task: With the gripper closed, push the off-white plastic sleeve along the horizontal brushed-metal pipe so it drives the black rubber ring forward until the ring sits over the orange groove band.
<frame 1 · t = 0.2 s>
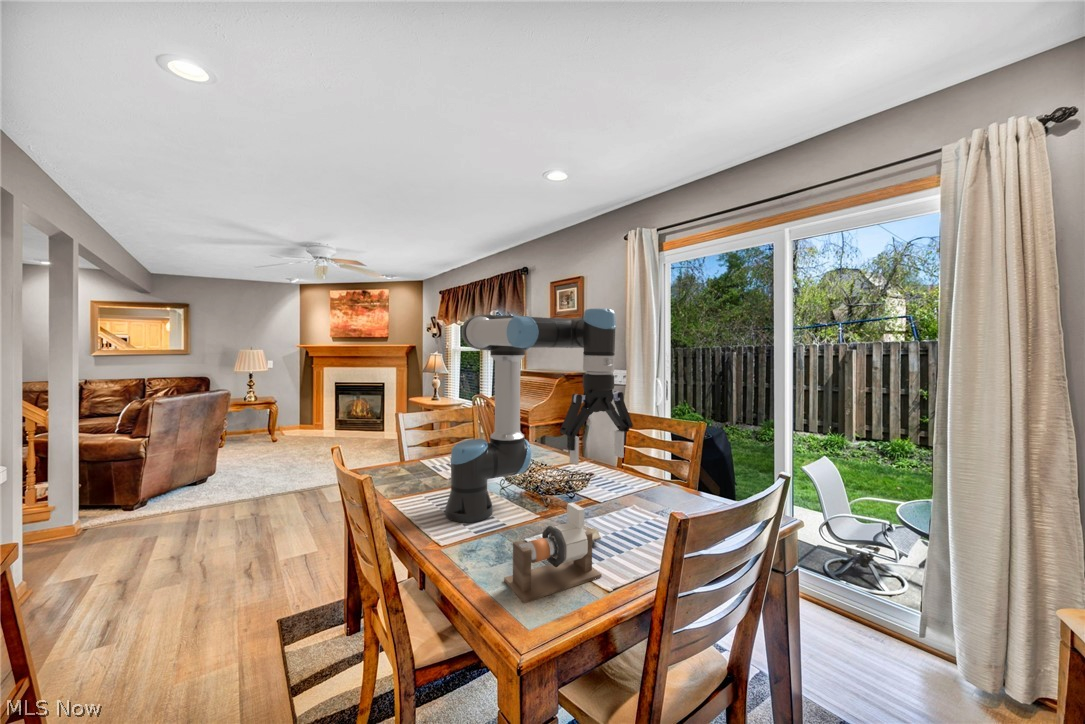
hand: (597, 460, 107), 28 cm above the table, fingers open, 13 cm apart
pipe: (553, 546, 104), point 8 cm above the table
ring: (552, 546, 104), point 8 cm above the table, slide at 0.0 cm
sleeve: (567, 533, 106), point 10 cm above the table, slide at 0.0 cm
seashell: (579, 542, 124), on the table
stand: (553, 578, 104), on the table
groove band: (538, 550, 102), point 8 cm above the table
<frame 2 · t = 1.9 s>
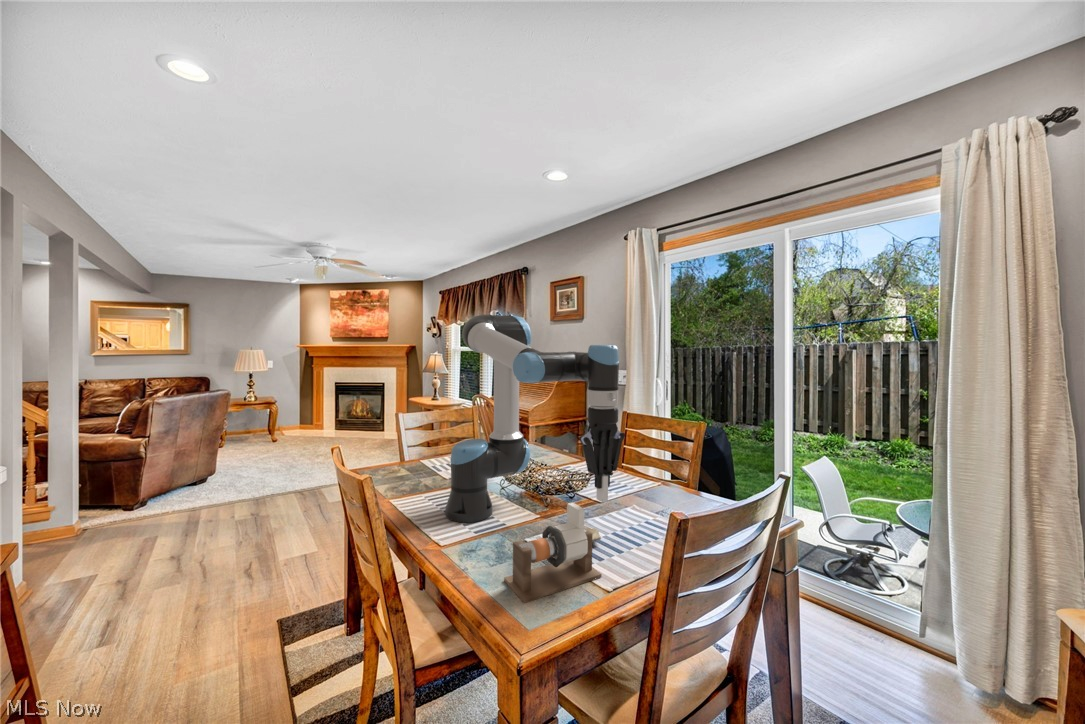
hand: (602, 500, 110), 17 cm above the table, fingers closed
nothing on the table moved.
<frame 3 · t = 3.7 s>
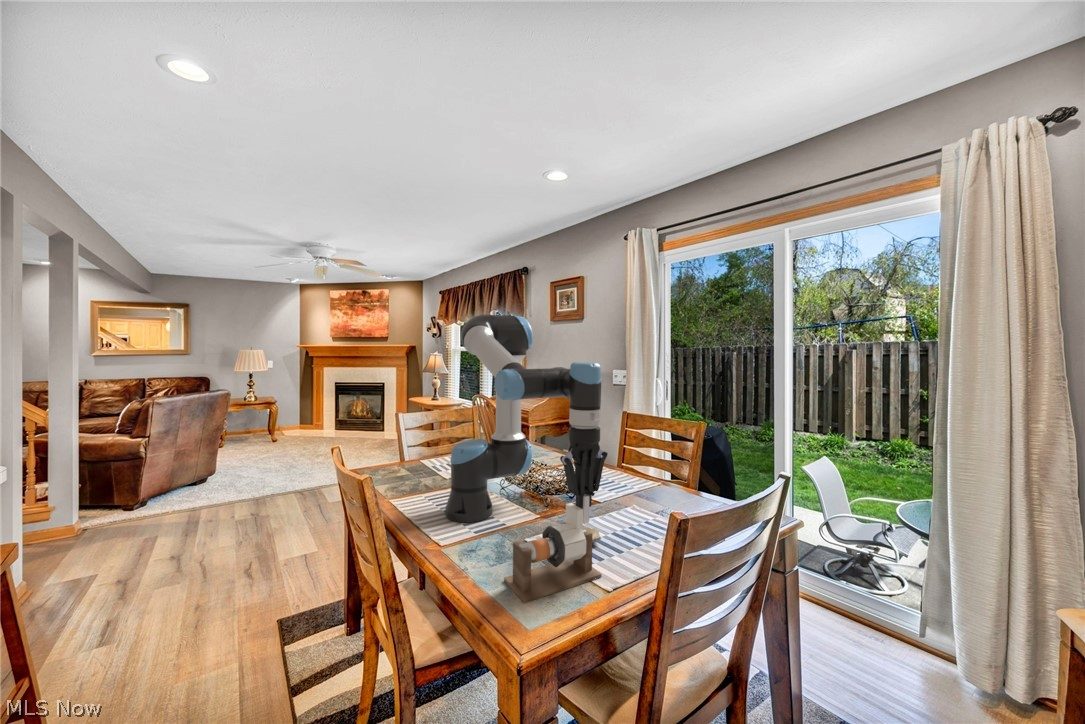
hand: (583, 520, 108), 12 cm above the table, fingers closed
sleeve: (566, 533, 106), point 10 cm above the table, slide at 0.4 cm, touching gripper
everything else where it was.
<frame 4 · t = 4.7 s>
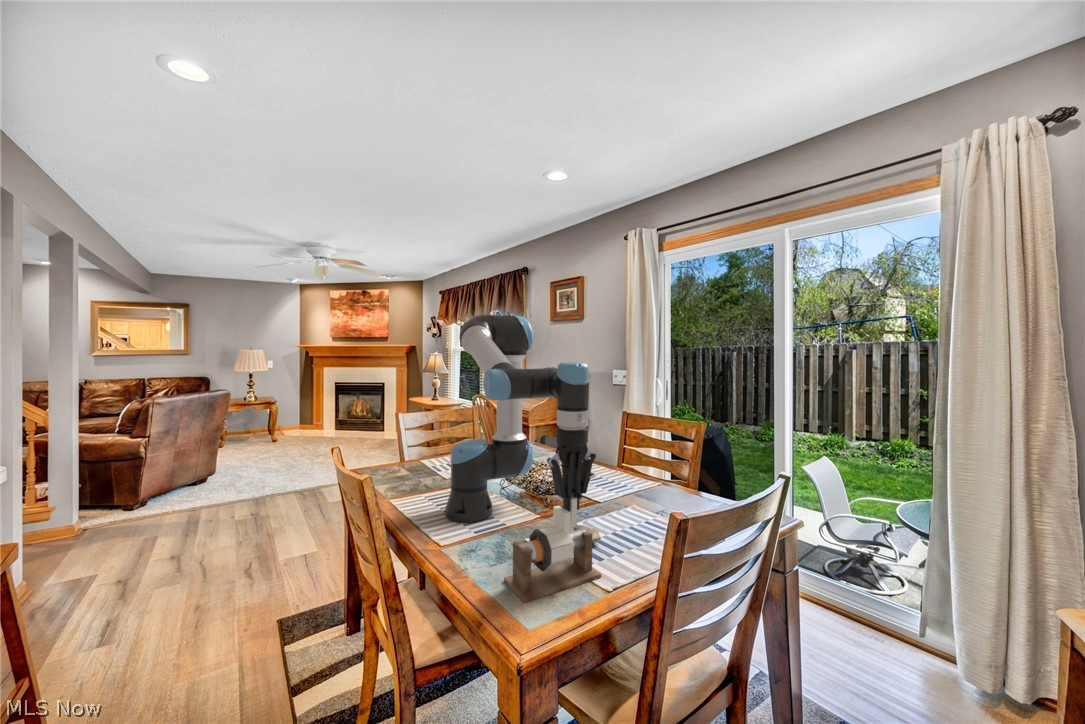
hand: (571, 523, 106), 12 cm above the table, fingers closed
ring: (539, 549, 102), point 8 cm above the table, slide at 3.6 cm, touching sleeve
sleeve: (553, 537, 104), point 10 cm above the table, slide at 4.1 cm, touching gripper, ring
everything else where it was.
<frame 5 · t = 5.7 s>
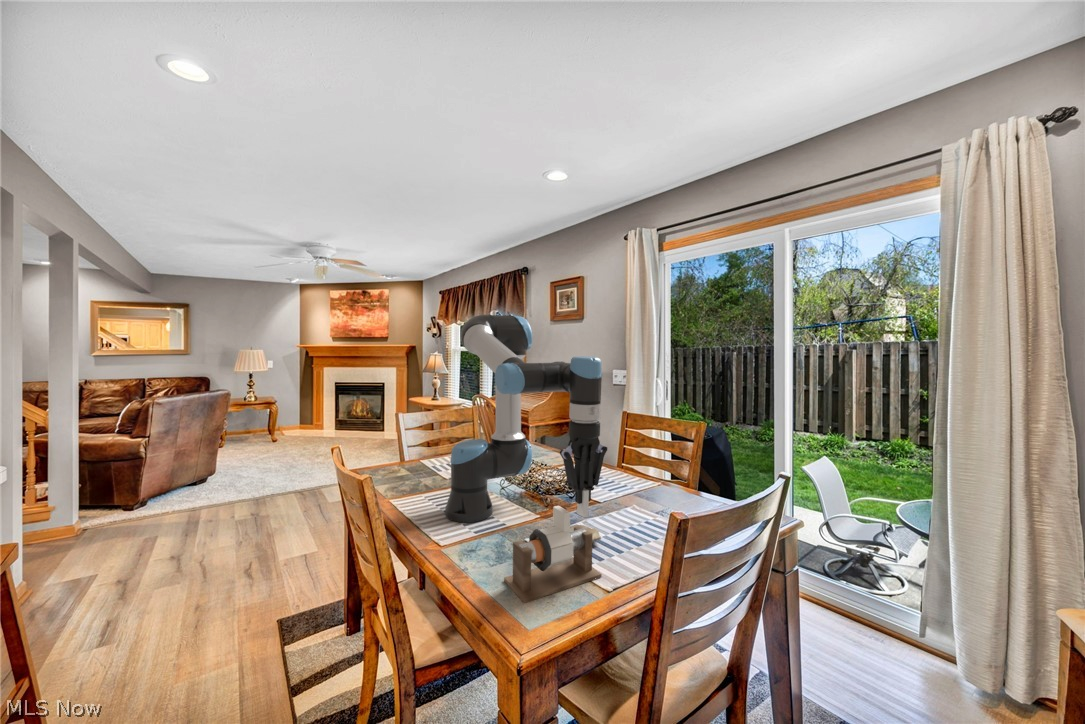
hand: (582, 514, 108), 14 cm above the table, fingers closed
sleeve: (553, 537, 104), point 10 cm above the table, slide at 4.1 cm, touching ring
everything else where it was.
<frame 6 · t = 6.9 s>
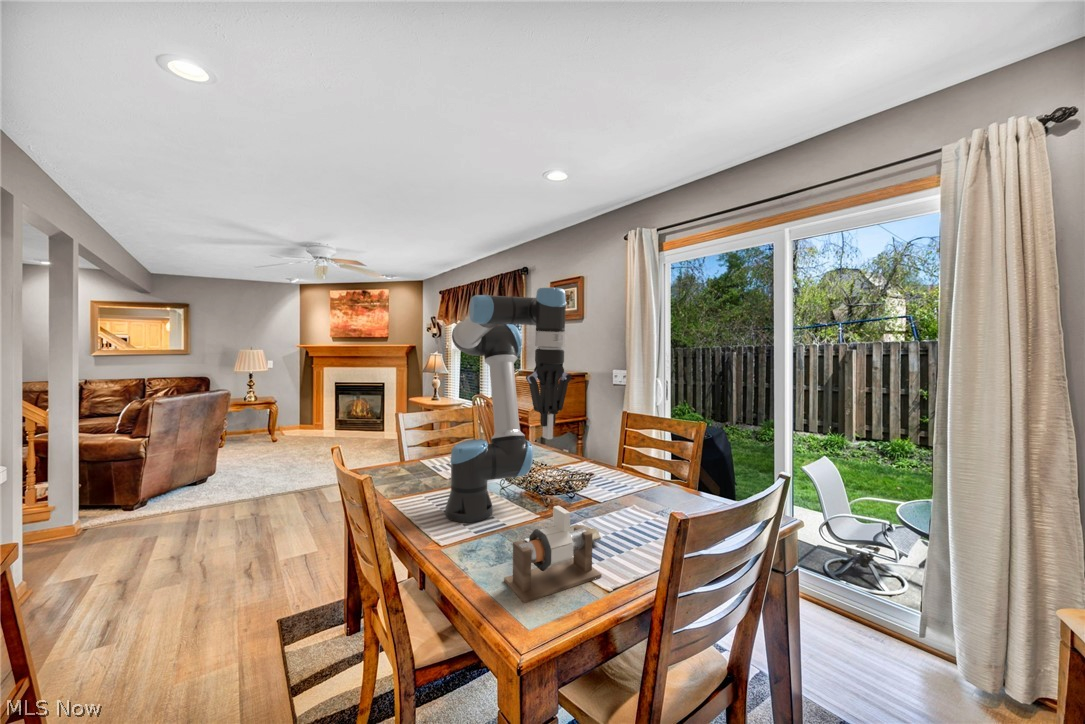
hand: (547, 437, 116), 31 cm above the table, fingers closed
nothing on the table moved.
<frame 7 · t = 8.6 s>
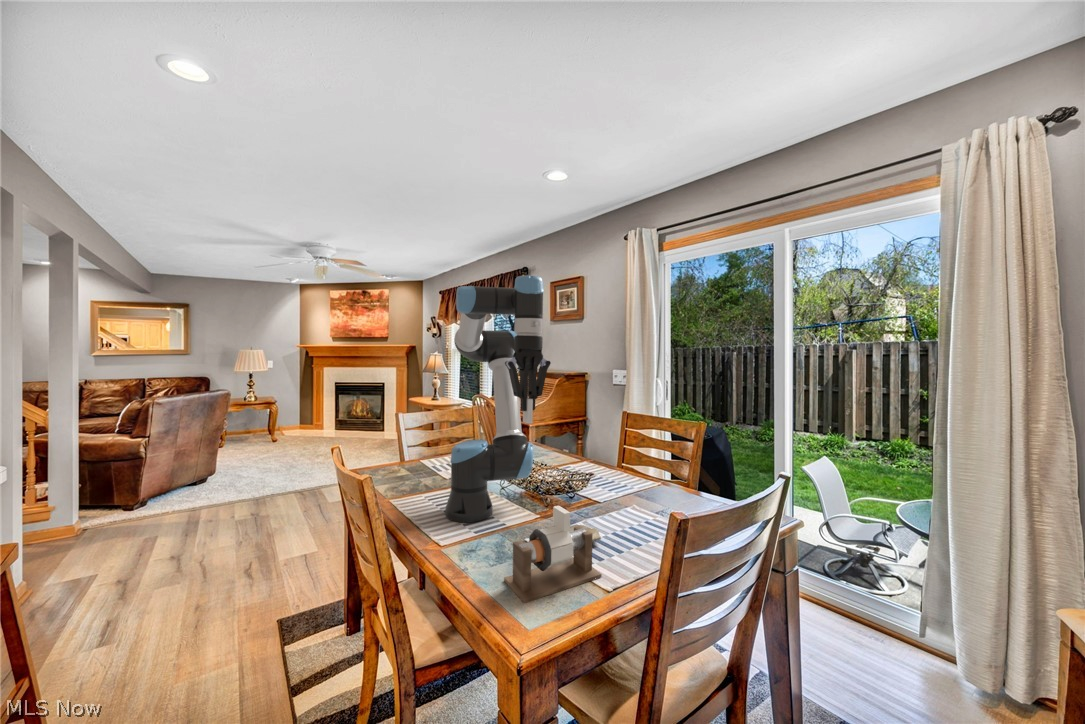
hand: (527, 422, 118), 34 cm above the table, fingers closed
nothing on the table moved.
at the end: ring slide at 3.6 cm; sleeve slide at 4.1 cm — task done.
